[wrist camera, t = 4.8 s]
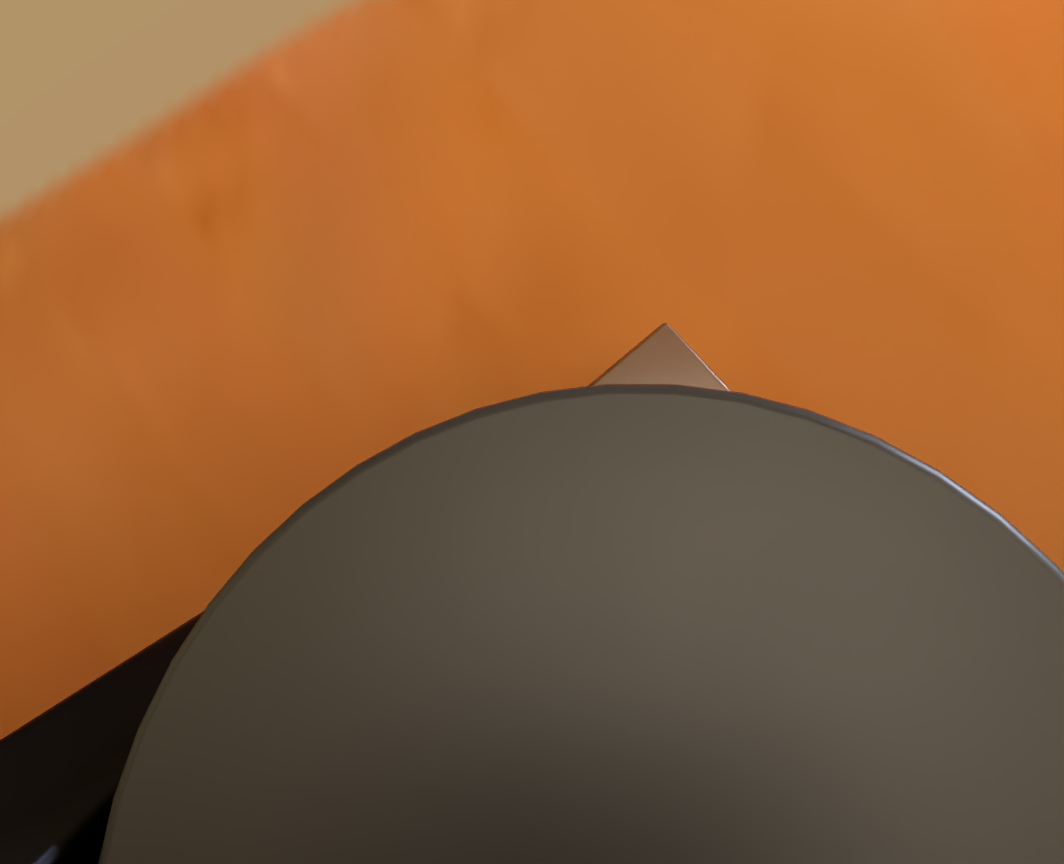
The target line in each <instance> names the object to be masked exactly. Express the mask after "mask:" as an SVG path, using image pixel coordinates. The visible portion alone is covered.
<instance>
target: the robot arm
mask: <svg viewBox="0 0 1064 864" xmlns="http://www.w3.org/2000/svg"><path fill="white" fill-rule="evenodd" d="M203 612H204V611H203ZM203 612H201V613H200V614H198V615H197V616H195V617H194V618H192V619H190V620H189V621H187V622H186V623H184V624H183V625H181V626H179V627H178V628H176V629H175V630H173V631H171V632H170V633H168V634H167V635H165V636H164V637H162V638H160V639H159V640H157V641H156V642H154V643H153V644H151V645H149V646H148V647H146V648H145V649H143V650H142V651H140V652H138V653H137V654H135V655H134V656H132V657H130V658H129V659H127V660H126V661H124V662H123V663H121V664H119V665H118V666H116V667H115V668H113V669H112V670H110V671H108V672H107V673H105V674H104V675H102V676H101V677H99V678H97V679H96V680H94V681H93V682H91V683H90V684H88V685H86V686H85V687H83V688H82V689H80V690H78V691H77V692H75V693H74V694H72V695H71V696H69V697H67V698H66V699H64V700H63V701H61V702H60V703H58V704H56V705H55V706H53V707H52V708H50V709H49V710H47V711H45V712H44V713H42V714H41V715H39V716H38V717H36V718H34V719H33V720H31V721H30V722H28V723H26V724H25V725H23V726H22V727H20V728H19V729H17V730H15V731H14V732H12V733H11V734H9V735H8V736H6V737H4V738H3V739H1V740H0V864H98V863H99V859H100V854H101V850H102V846H103V841H104V837H105V833H106V828H107V824H108V820H109V815H110V811H111V806H112V802H113V798H114V795H115V792H116V789H117V787H118V784H119V781H120V778H121V775H122V772H123V770H124V767H125V764H126V761H127V758H128V756H129V753H130V750H131V747H132V744H133V742H134V739H135V736H136V733H137V730H138V728H139V726H140V724H141V722H142V720H143V718H144V716H145V714H146V712H147V710H148V708H149V706H150V703H151V701H152V699H153V697H154V695H155V693H156V691H157V689H158V687H159V685H160V683H161V681H162V679H163V677H164V675H165V673H166V671H167V669H168V667H169V665H170V663H171V661H172V660H173V658H174V657H175V655H176V654H177V652H178V650H179V649H180V647H181V646H182V644H183V643H184V641H185V640H186V638H187V637H188V635H189V634H190V632H191V630H192V629H193V627H194V626H195V624H196V623H197V621H198V620H199V618H200V617H201V615H202V614H203Z"/></svg>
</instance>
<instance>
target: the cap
mask: <svg viewBox="0 0 1064 864" xmlns="http://www.w3.org/2000/svg"><path fill="white" fill-rule="evenodd" d="M98 864H1064V573H1063V572H1062V571H1061V570H1060V568H1059V567H1058V566H1057V565H1056V564H1055V563H1054V562H1053V561H1052V560H1050V559H1049V558H1048V557H1047V556H1046V555H1045V554H1044V553H1043V552H1042V551H1040V550H1039V549H1038V548H1037V547H1036V546H1035V545H1034V544H1033V543H1032V542H1031V541H1029V540H1028V539H1027V538H1026V537H1025V536H1024V535H1023V534H1022V533H1021V532H1020V531H1018V530H1017V529H1016V528H1015V527H1014V526H1013V525H1012V524H1011V523H1010V522H1009V521H1007V520H1006V519H1005V518H1004V517H1003V516H1002V515H1001V514H1000V513H998V512H997V511H995V510H994V509H993V508H991V507H990V506H988V505H987V504H986V503H984V502H983V501H981V500H980V499H978V498H977V497H976V496H974V495H973V494H971V493H970V492H969V491H967V490H966V489H964V488H963V487H962V486H960V485H959V484H957V483H956V482H954V481H953V480H952V479H950V478H949V477H947V476H946V475H945V474H943V473H942V472H940V471H939V470H937V469H935V468H933V467H932V466H930V465H928V464H926V463H924V462H922V461H920V460H919V459H917V458H915V457H913V456H911V455H909V454H908V453H906V452H904V451H902V450H900V449H898V448H896V447H895V446H893V445H891V444H889V443H887V442H885V441H884V440H882V439H880V438H878V437H876V436H874V435H871V434H869V433H866V432H864V431H861V430H859V429H856V428H854V427H851V426H849V425H846V424H843V423H841V422H838V421H836V420H833V419H831V418H828V417H826V416H823V415H821V414H818V413H816V412H813V411H810V410H807V409H803V408H799V407H796V406H792V405H788V404H784V403H780V402H776V401H772V400H768V399H764V398H761V397H757V396H753V395H749V394H745V393H740V392H733V391H725V390H717V389H709V388H701V387H693V386H686V385H678V384H602V385H594V386H586V387H578V388H570V389H562V390H554V391H546V392H539V393H536V394H532V395H528V396H524V397H520V398H516V399H512V400H508V401H504V402H500V403H497V404H493V405H489V406H485V407H481V408H477V409H474V410H472V411H469V412H467V413H464V414H462V415H459V416H457V417H454V418H452V419H449V420H447V421H444V422H442V423H439V424H437V425H434V426H432V427H429V428H426V429H424V430H421V431H419V432H416V433H414V434H412V435H411V436H409V437H407V438H405V439H403V440H401V441H400V442H398V443H396V444H394V445H392V446H391V447H389V448H387V449H385V450H383V451H382V452H380V453H378V454H376V455H374V456H372V457H371V458H369V459H367V460H365V461H363V462H362V463H360V464H358V465H356V466H355V467H354V468H352V469H351V470H349V471H348V472H347V473H345V474H344V475H343V476H341V477H340V478H338V479H337V480H336V481H334V482H333V483H332V484H330V485H329V486H327V487H326V488H325V489H323V490H322V491H321V492H319V493H318V494H316V495H315V496H314V497H312V498H311V499H309V500H308V501H307V502H305V503H304V504H303V505H302V506H301V507H299V508H298V509H297V510H296V511H295V512H294V513H293V514H292V515H291V516H290V517H289V518H288V519H287V520H286V521H284V522H283V523H282V524H281V525H280V526H279V527H278V528H277V529H276V530H275V531H274V532H273V533H272V534H271V535H269V536H268V537H267V538H266V539H265V540H264V541H263V542H262V543H261V544H260V545H259V546H258V547H257V548H256V549H255V550H253V552H252V553H251V554H250V555H249V556H248V558H247V559H246V560H245V561H244V562H243V564H242V565H241V566H240V567H239V568H238V570H237V571H236V572H235V573H234V574H233V575H232V577H231V578H230V579H229V580H228V581H227V583H226V584H225V585H224V586H223V587H222V589H221V590H220V591H219V592H218V593H217V595H216V596H215V597H214V598H213V599H212V601H211V602H210V603H209V604H208V606H207V607H206V609H205V611H204V612H203V614H202V615H201V617H200V618H199V620H198V621H197V623H196V624H195V626H194V627H193V629H192V630H191V632H190V634H189V635H188V637H187V638H186V640H185V641H184V643H183V644H182V646H181V647H180V649H179V650H178V652H177V654H176V655H175V657H174V658H173V660H172V661H171V663H170V665H169V667H168V669H167V671H166V673H165V675H164V677H163V679H162V681H161V683H160V685H159V687H158V689H157V691H156V693H155V695H154V697H153V699H152V701H151V703H150V706H149V708H148V710H147V712H146V714H145V716H144V718H143V720H142V722H141V724H140V726H139V728H138V730H137V733H136V736H135V739H134V742H133V744H132V747H131V750H130V753H129V756H128V758H127V761H126V764H125V767H124V770H123V772H122V775H121V778H120V781H119V784H118V787H117V789H116V792H115V795H114V798H113V802H112V806H111V811H110V815H109V820H108V824H107V828H106V833H105V837H104V841H103V846H102V850H101V854H100V859H99V863H98Z"/></svg>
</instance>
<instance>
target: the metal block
mask: <svg viewBox="0 0 1064 864" xmlns="http://www.w3.org/2000/svg"><path fill="white" fill-rule="evenodd" d="M602 384H678V385H686V386H693V387H701V388H709V389H717V390H725V391H731V390H730V389H729V388H728V387H727V386H726V385H725V384H724V383H723V382H722V381H721V380H720V379H719V378H718V376H717V375H716V374H715V373H714V372H713V371H712V370H711V369H710V368H709V367H708V366H707V365H706V364H705V363H704V361H703V360H702V359H701V358H700V357H699V356H698V355H697V354H696V353H695V352H694V351H693V350H692V349H691V347H690V346H689V345H688V344H687V343H686V342H685V341H684V340H683V339H682V338H681V337H680V336H679V335H678V334H677V332H676V331H675V330H674V329H673V328H672V327H671V326H670V325H669V324H667V323H663V324H661V325H660V326H659V327H658V328H657V329H655V330H654V331H653V332H652V333H651V334H649V335H648V336H647V337H646V338H645V339H643V340H642V341H641V342H640V343H639V344H638V345H636V346H635V347H634V348H633V349H632V350H630V351H629V352H628V353H627V354H626V355H624V356H623V357H622V358H621V359H620V360H618V361H617V362H616V363H615V364H614V365H612V366H611V367H610V368H609V369H608V370H606V371H605V372H604V373H603V374H602V375H600V376H599V377H598V378H597V379H596V380H594V381H593V382H592V383H591V384H590V385H588V386H594V385H602Z"/></svg>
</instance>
